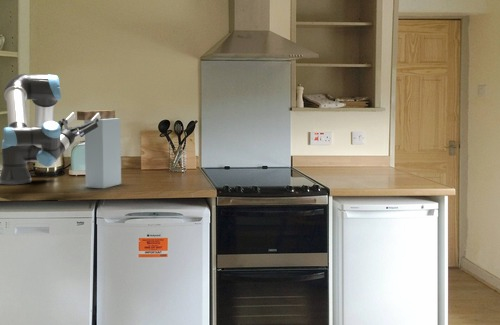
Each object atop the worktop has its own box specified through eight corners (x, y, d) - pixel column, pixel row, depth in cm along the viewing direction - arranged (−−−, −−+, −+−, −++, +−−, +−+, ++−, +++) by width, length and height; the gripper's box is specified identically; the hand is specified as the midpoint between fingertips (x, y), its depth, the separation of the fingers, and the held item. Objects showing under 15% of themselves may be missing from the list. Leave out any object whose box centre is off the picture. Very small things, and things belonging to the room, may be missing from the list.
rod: (84, 120, 267) (84, 111, 267) (77, 120, 268) (76, 111, 268) (115, 118, 292) (114, 110, 291) (108, 118, 293) (107, 110, 292)
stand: (103, 188, 279) (102, 119, 276) (85, 187, 282) (84, 119, 279) (121, 183, 294) (120, 118, 291) (104, 182, 298) (102, 118, 294)
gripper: (42, 146, 261) (66, 121, 278) (89, 148, 254) (112, 122, 270) (36, 132, 257) (61, 107, 273) (84, 134, 249) (107, 108, 265)
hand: (86, 114), depth 271 cm, fingers open, 13 cm apart
